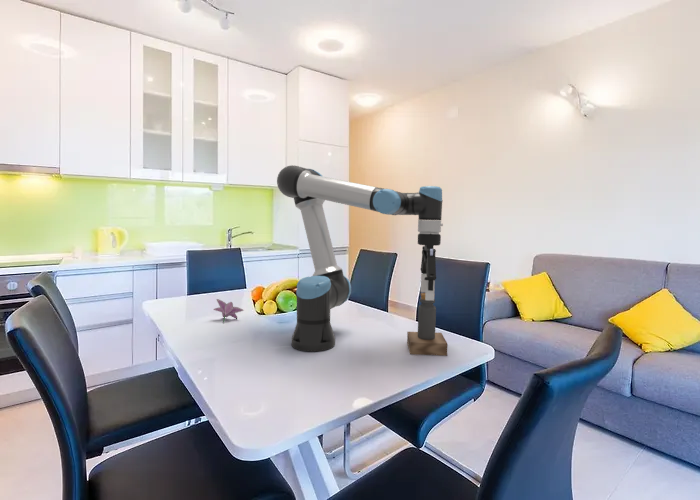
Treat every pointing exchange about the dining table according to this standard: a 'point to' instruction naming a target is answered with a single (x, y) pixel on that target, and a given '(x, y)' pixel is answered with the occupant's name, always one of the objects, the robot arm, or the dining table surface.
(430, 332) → the bottle
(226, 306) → the lily
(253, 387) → the dining table surface
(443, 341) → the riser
